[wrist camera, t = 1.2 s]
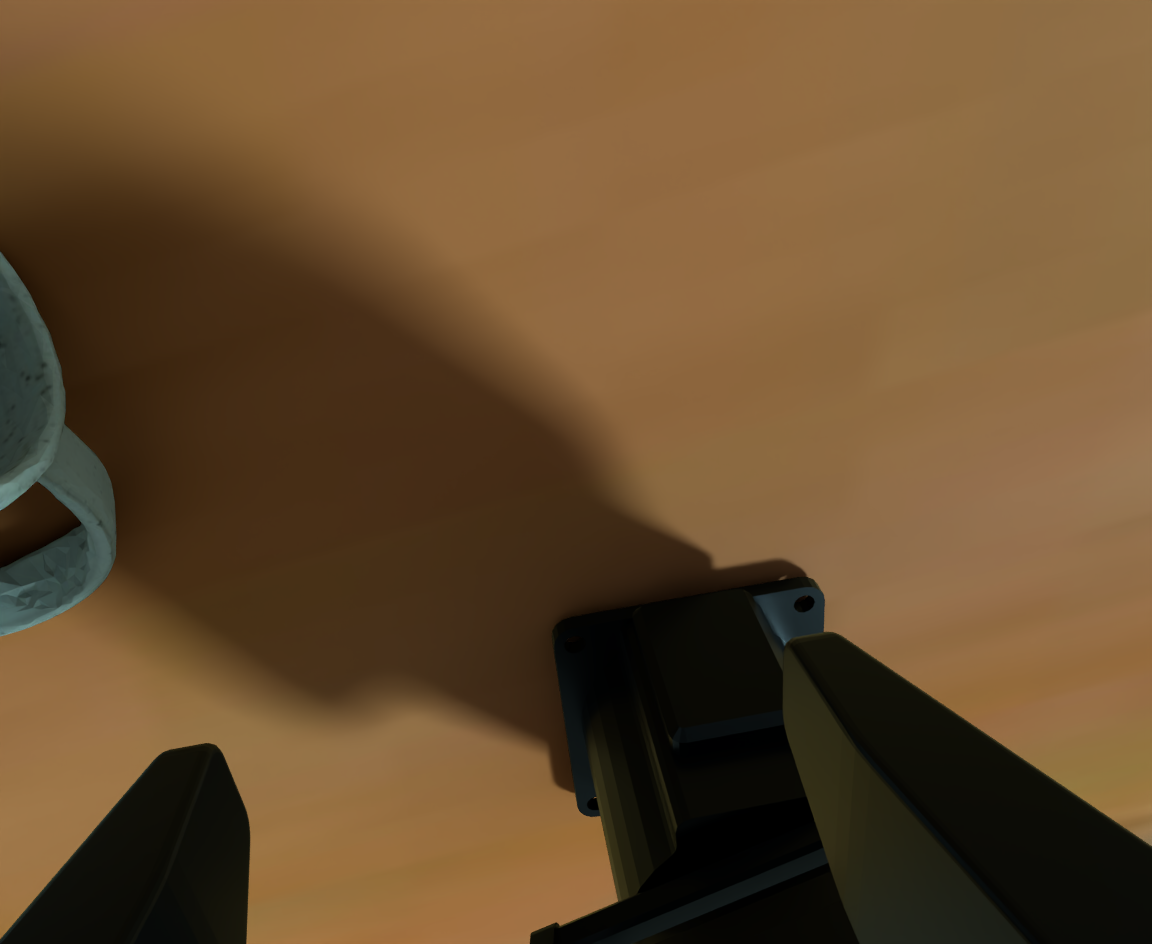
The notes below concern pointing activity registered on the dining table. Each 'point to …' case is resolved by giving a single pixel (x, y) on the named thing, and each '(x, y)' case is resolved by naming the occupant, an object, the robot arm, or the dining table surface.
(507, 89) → the dining table surface
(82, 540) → the ceramic mug
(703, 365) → the dining table surface
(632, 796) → the robot arm
